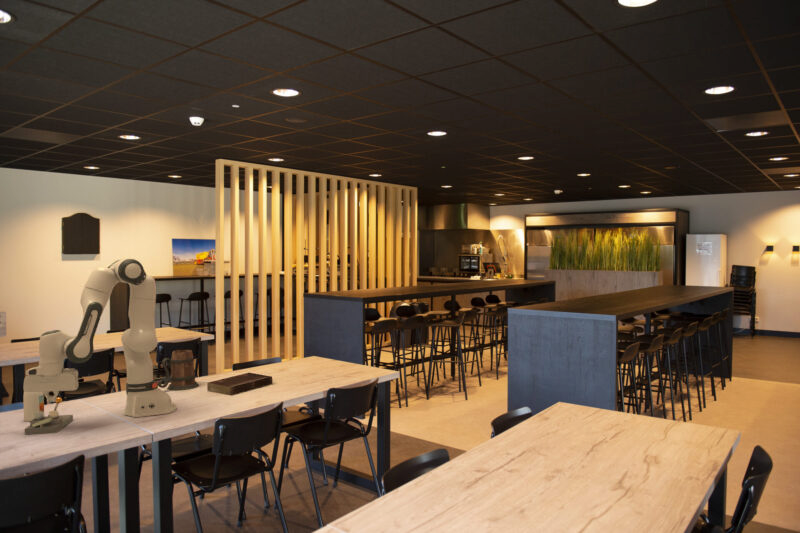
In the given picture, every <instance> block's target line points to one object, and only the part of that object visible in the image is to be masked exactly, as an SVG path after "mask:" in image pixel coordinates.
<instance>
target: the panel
mask: <svg viewBox="0 0 800 533" xmlns="http://www.w3.org/2000/svg"><path fill="white" fill-rule="evenodd" d="M59 413H60V412H58V417H57V418H52V420H51V421H50V422H47V423H44V424H41V425H38V426H35V427H33V426H32V424H34V423H36V422H39V421H42V420H45V419H48V418H49V414H48V415H47V416H45V415H44V418H43V419H38V420H36V419H35V418H34V419H33V420H31V421H29V423H30V424H29V425H28V426H27V427H25V428H24V435H25V436H28V435H40V434H55V433H58V432H60V431H61V430H62V429H63V428H65V427H66V426H68V425H69V424H70V423H71V422H72V420H73V421H74V414H61V415H60V414H59Z"/></svg>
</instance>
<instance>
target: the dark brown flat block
mask: <svg viewBox="0 0 800 533" xmlns="http://www.w3.org/2000/svg"><path fill="white" fill-rule="evenodd" d="M271 385H273V376H272V375H266V374H259V373H254V372H246V373H242V374H238V375H234V376H229V377H224V378H221V379H217V380H216V379H215V380H212V381H209V382H207V384H206V386H207V389H206V390H207V392H208V393H209V392H210V393H216V394H221V395H225V396H234V395H238V394H242V393H245V392H248V391H252V390H255V389H261V388H263V387H268V386H271Z"/></svg>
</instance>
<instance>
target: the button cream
mask: <svg viewBox="0 0 800 533" xmlns="http://www.w3.org/2000/svg"><path fill="white" fill-rule="evenodd" d="M58 413H59V411H58V410H56V411H54V410H51V411H49V412H48V415H49V418H57V417H58Z"/></svg>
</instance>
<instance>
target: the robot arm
mask: <svg viewBox="0 0 800 533" xmlns="http://www.w3.org/2000/svg"><path fill="white" fill-rule="evenodd" d="M92 270H93V271H91V273H90V274H89V276H88V278H87V281H86V282H85V284H84V286H83V289H82V293H81V296H80V300H79V301H80V302H79V303H80V306H81V307H82V312H83V315H82V316H83V317H82V319H81V323H80V326H79V329H78V332H77V334H76V336H75V335H72V334H68V333H66V332H64V331H62V330H61V329H54V330H50V331H49V330H48V331H45V332H43V333H42V334H41V335H40V337H39V344H38V354H39V361H38V365H36V366H34V367H31V368H29V369H27V370H26V371H25V375H26V376H25V377H24V379H23V392H24V391H25V392H43V395H44V398H46V402H47V403H54V402H55V401H56V398H58V395H59V394H60V392H68V391H70V392H73V391H77V389H78V388H79V379H78V377H79V371H78V370H77V369H76V368H74V367H73V368H64V360H65V359H68V360H69V361H70V362H72V363H73V364H83V363H85V362H87V361H89V360H90V359H91V358H92V357H93V355H94V351H95V350H94V338H95V335H96V332H97V329H98V326H99V324H100V320H101V317H102V315H103V313H104V311H105V309H106V306H107V304H108V302H109V300H110V299H111V298H110V297H111V295H112V292H113V289H114V287H116V285H117V284H118V283H123V284H128V285H129V288H130V294H129V301H128V302H129V303H128V304H129V305H128V319H129V328H127V329H126V330H124V332H122V335H121V338H120V340H121V343H122V349H123V355H124V359H125V365H126V383H125V393H126V404H125V409H124V413H123V415H125V416H129V417H132V418H140V417H141V418H143V417H149V416H157V415H158V416H159V415H167V414H171V413H174V412H175V411H176V410H177V409H178V408H177V404H175V403H173V402H172V399H171V395H170V394H169V393H167V392H165V391H164V390H162V389H160V387H159V386H158V381H159V380H155V379H154V367H153V366H154V365H153V364H154V363H153V360H152V359H151V355H150V353H151V352H153V351H154V350H155V349H156V348H157V346H158V338H157V333H156V332H157V330H156V323H155V314H156V313H155V312H156V302H157V288H156V287H157V285H156V280H155V278H154V277H153V276H151V275H148V274H147V273H146V271H145V269H144V267H143V265H142V263H141V262H140V261H139V260H138V259H135V258H123V259H118V260H116V261H114V262H113V263H111V264H110V265H109V266H97V267H95V268H94V269H92ZM50 392H53V396H50ZM55 403H56V402H55Z"/></svg>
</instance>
